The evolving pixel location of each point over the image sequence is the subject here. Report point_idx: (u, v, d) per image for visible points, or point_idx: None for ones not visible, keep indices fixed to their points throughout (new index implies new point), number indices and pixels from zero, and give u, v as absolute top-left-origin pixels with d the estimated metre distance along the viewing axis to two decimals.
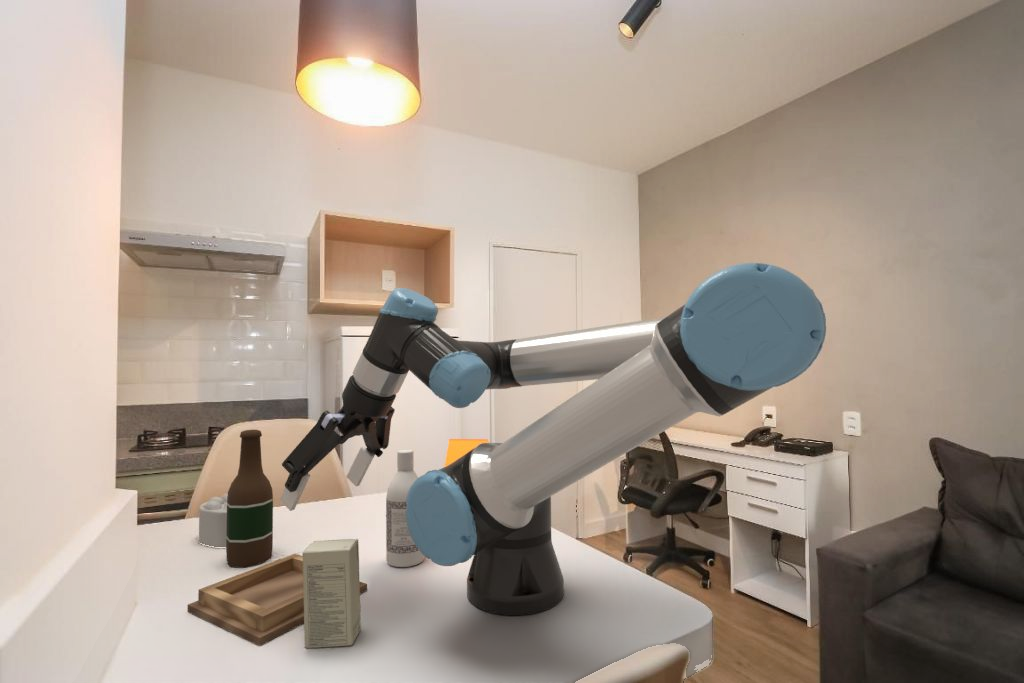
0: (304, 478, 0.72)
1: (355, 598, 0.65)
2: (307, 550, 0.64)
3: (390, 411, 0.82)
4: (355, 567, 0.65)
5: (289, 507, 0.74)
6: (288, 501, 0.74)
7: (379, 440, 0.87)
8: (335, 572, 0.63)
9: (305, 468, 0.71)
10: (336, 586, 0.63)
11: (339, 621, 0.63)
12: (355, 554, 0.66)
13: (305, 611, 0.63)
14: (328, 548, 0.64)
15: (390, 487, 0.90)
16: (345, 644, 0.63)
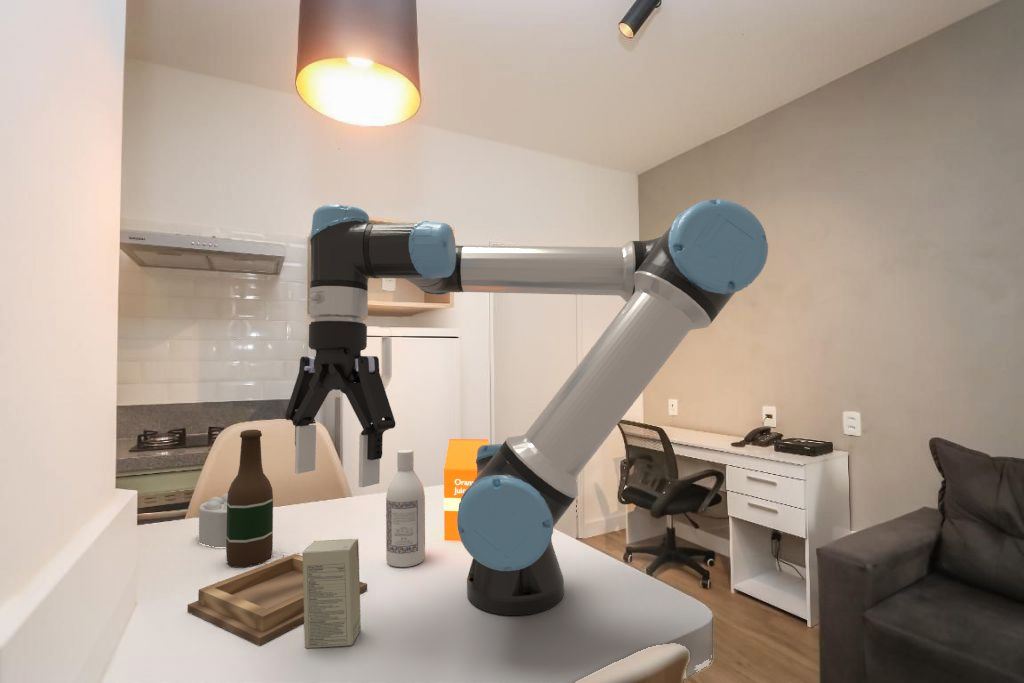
0: None
1: (355, 598, 0.65)
2: (307, 550, 0.64)
3: None
4: (355, 567, 0.66)
5: (376, 481, 0.64)
6: (372, 477, 0.63)
7: None
8: (335, 572, 0.63)
9: None
10: (336, 586, 0.63)
11: (339, 621, 0.63)
12: (355, 554, 0.66)
13: (305, 611, 0.63)
14: (328, 548, 0.64)
15: (390, 487, 0.90)
16: (345, 644, 0.63)
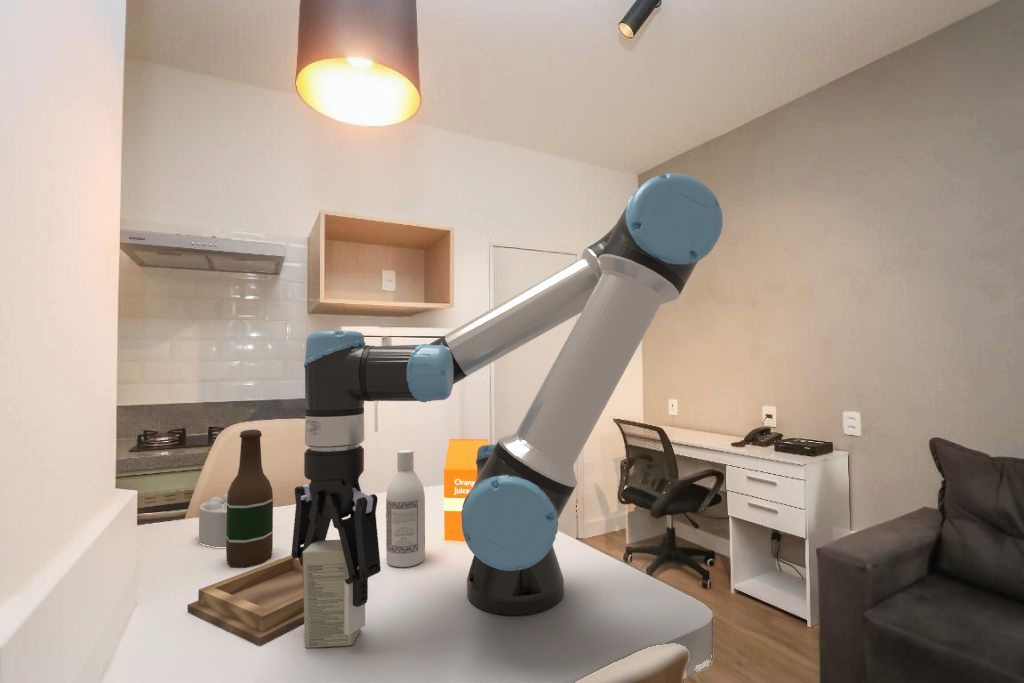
0: None
1: None
2: (307, 550, 0.64)
3: None
4: None
5: (362, 624, 0.64)
6: (358, 621, 0.63)
7: (302, 548, 0.69)
8: (335, 572, 0.63)
9: None
10: (336, 586, 0.63)
11: (339, 621, 0.63)
12: None
13: (305, 611, 0.63)
14: (328, 548, 0.64)
15: (390, 487, 0.90)
16: (345, 644, 0.63)
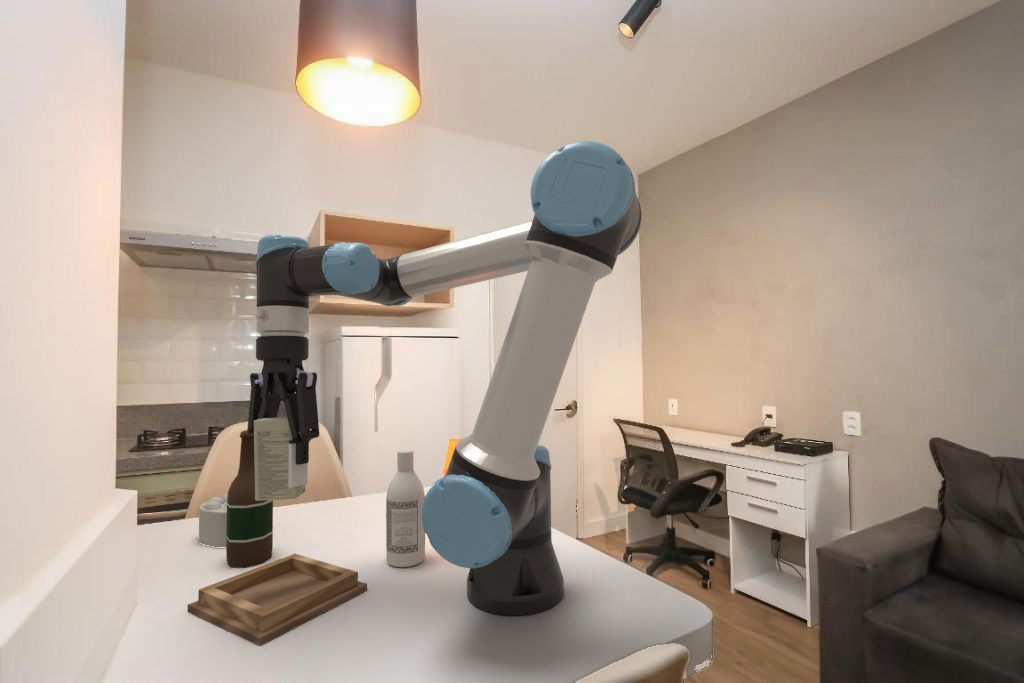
0: None
1: None
2: (258, 419, 0.75)
3: None
4: None
5: (305, 482, 0.75)
6: (301, 479, 0.75)
7: None
8: (281, 437, 0.75)
9: None
10: (282, 449, 0.75)
11: (284, 478, 0.74)
12: None
13: (255, 470, 0.74)
14: (276, 419, 0.75)
15: (390, 487, 0.90)
16: (289, 498, 0.74)
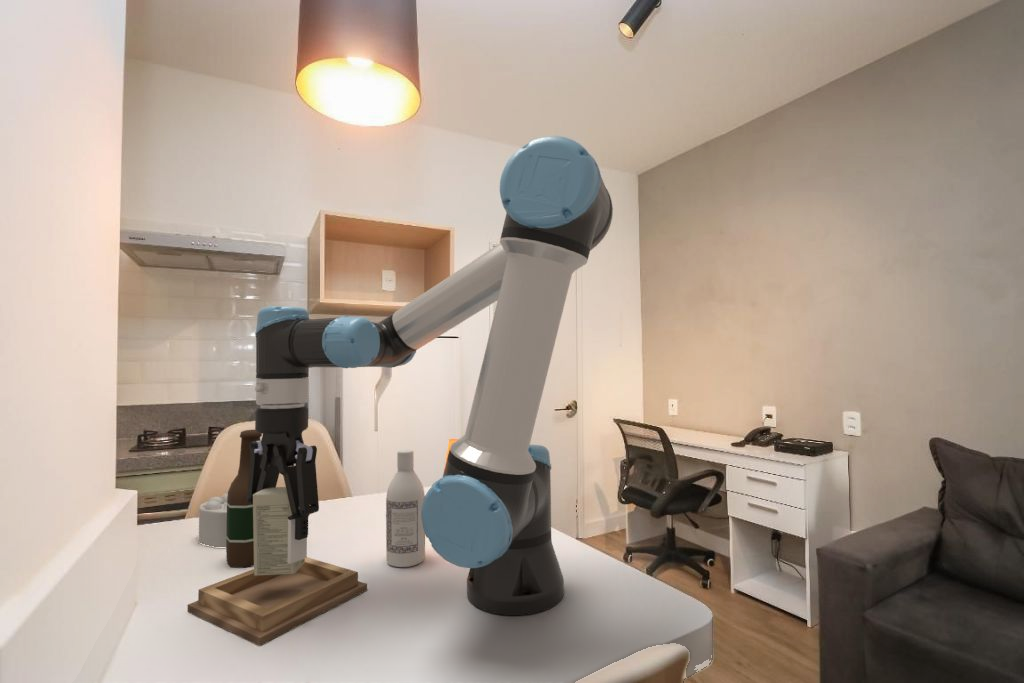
0: None
1: None
2: (257, 493, 0.75)
3: None
4: None
5: (304, 556, 0.75)
6: (300, 553, 0.74)
7: None
8: (280, 511, 0.74)
9: (309, 505, 0.75)
10: (281, 523, 0.74)
11: (283, 553, 0.74)
12: None
13: (254, 544, 0.74)
14: (275, 492, 0.75)
15: (390, 487, 0.90)
16: (288, 572, 0.74)
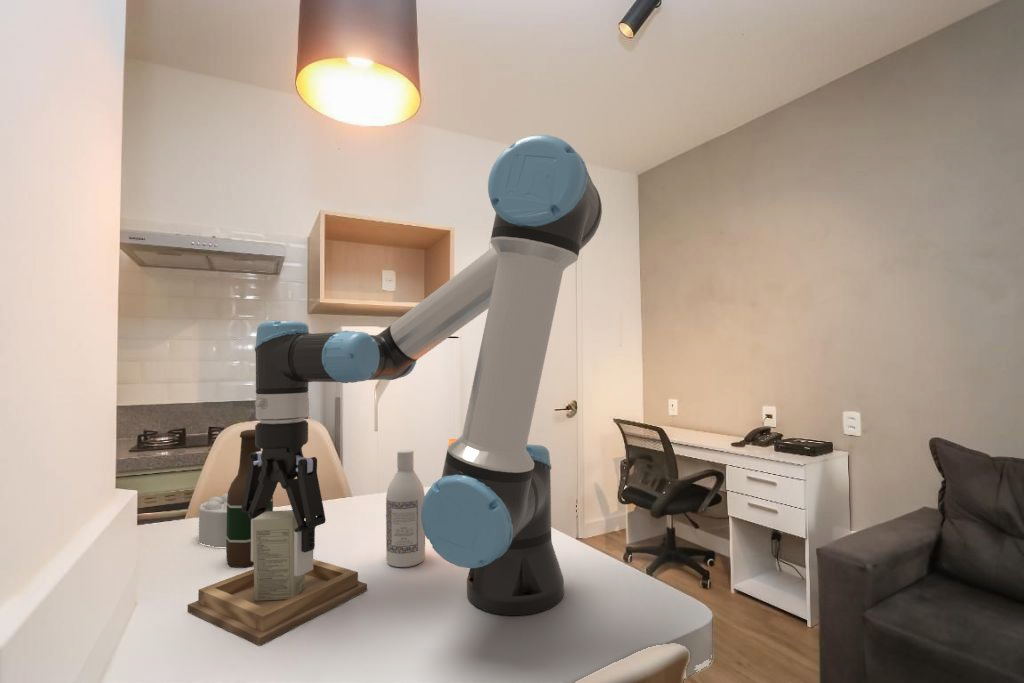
0: None
1: None
2: (257, 518, 0.75)
3: None
4: None
5: (310, 568, 0.74)
6: (307, 565, 0.73)
7: None
8: (280, 536, 0.74)
9: (315, 517, 0.74)
10: (281, 548, 0.74)
11: (284, 578, 0.74)
12: None
13: (254, 569, 0.74)
14: (275, 516, 0.75)
15: (390, 487, 0.90)
16: (289, 597, 0.74)
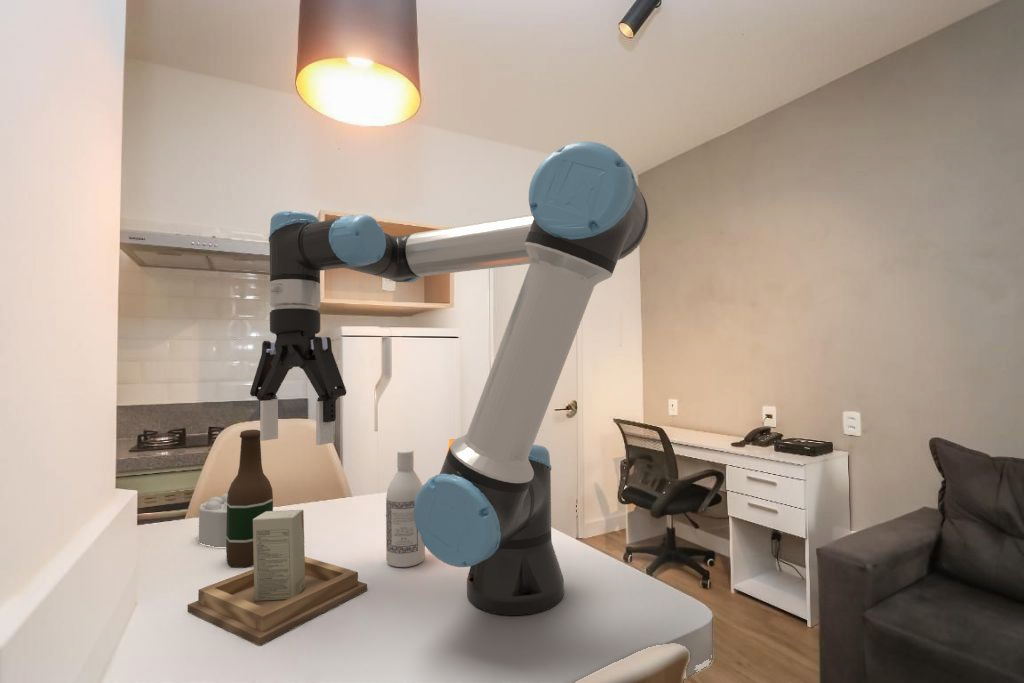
0: None
1: (299, 559, 0.76)
2: (257, 518, 0.75)
3: None
4: (299, 533, 0.76)
5: (332, 441, 0.76)
6: (328, 437, 0.76)
7: (260, 389, 0.84)
8: (280, 536, 0.74)
9: None
10: (281, 548, 0.74)
11: (284, 578, 0.74)
12: (299, 522, 0.77)
13: (254, 569, 0.74)
14: (275, 516, 0.75)
15: (390, 487, 0.90)
16: (289, 597, 0.74)
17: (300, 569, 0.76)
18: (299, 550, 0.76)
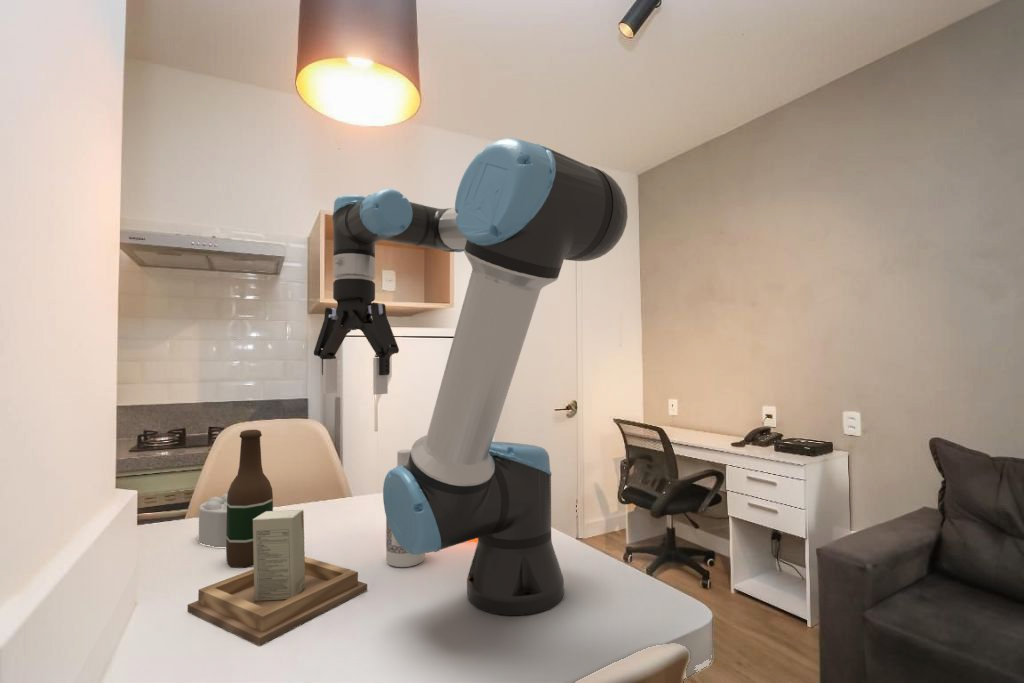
0: None
1: (299, 559, 0.76)
2: (257, 518, 0.75)
3: None
4: (299, 533, 0.76)
5: (385, 392, 0.89)
6: (383, 388, 0.89)
7: (322, 350, 0.97)
8: (280, 536, 0.74)
9: None
10: (281, 548, 0.74)
11: (284, 578, 0.74)
12: (299, 522, 0.77)
13: (254, 569, 0.74)
14: (275, 516, 0.75)
15: None
16: (289, 597, 0.74)
17: (300, 569, 0.76)
18: (299, 550, 0.76)
